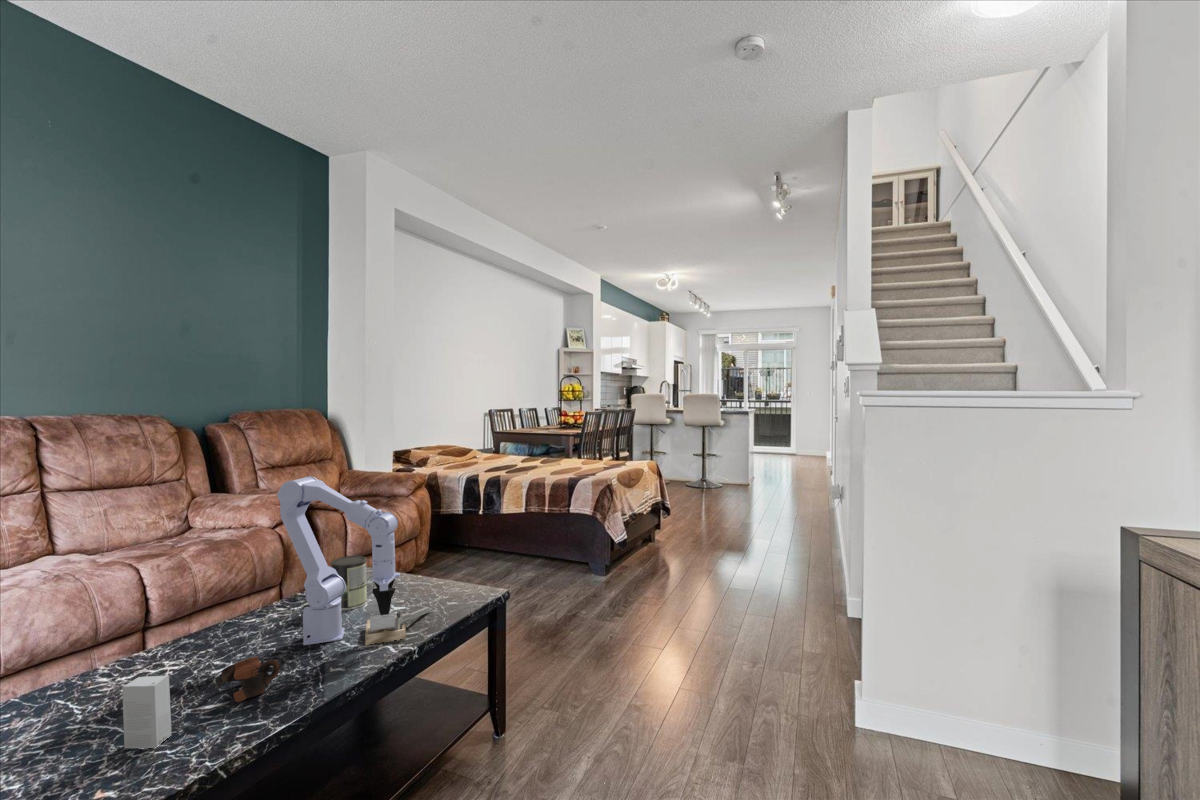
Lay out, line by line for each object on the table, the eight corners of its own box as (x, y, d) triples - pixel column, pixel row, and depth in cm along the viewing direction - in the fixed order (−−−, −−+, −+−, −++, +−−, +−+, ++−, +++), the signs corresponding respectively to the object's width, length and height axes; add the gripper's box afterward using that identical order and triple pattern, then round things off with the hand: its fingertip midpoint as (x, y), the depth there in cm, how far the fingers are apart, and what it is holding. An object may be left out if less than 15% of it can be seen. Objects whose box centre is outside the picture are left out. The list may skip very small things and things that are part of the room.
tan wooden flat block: (365, 645, 151) (365, 635, 151) (367, 628, 163) (367, 619, 163) (405, 639, 155) (405, 629, 155) (404, 622, 166) (404, 614, 166)
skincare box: (172, 736, 112) (170, 674, 112) (156, 749, 108) (154, 685, 108) (140, 737, 112) (138, 676, 112) (122, 751, 108) (120, 687, 107)
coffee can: (329, 612, 176) (328, 566, 176) (334, 601, 186) (333, 557, 186) (366, 608, 179) (364, 562, 179) (368, 597, 189) (367, 554, 189)
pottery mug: (219, 711, 122) (210, 672, 124) (232, 710, 130) (223, 673, 132) (281, 683, 127) (272, 646, 129) (290, 684, 135) (281, 649, 137)
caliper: (398, 638, 155) (397, 615, 155) (394, 638, 155) (394, 614, 155) (431, 610, 175) (431, 589, 175) (428, 610, 175) (427, 589, 175)
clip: (370, 642, 153) (369, 619, 153) (370, 638, 156) (370, 616, 156) (396, 638, 156) (395, 615, 156) (396, 634, 158) (395, 612, 158)
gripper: (399, 564, 150) (400, 616, 150) (399, 550, 164) (400, 598, 164) (370, 567, 148) (371, 620, 148) (372, 553, 162) (373, 602, 162)
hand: (384, 609), depth 156 cm, fingers open, 7 cm apart
